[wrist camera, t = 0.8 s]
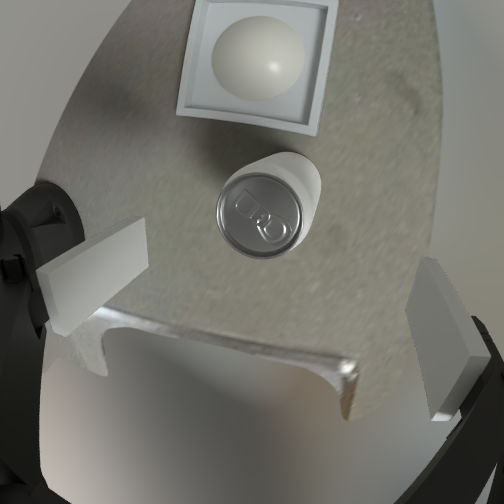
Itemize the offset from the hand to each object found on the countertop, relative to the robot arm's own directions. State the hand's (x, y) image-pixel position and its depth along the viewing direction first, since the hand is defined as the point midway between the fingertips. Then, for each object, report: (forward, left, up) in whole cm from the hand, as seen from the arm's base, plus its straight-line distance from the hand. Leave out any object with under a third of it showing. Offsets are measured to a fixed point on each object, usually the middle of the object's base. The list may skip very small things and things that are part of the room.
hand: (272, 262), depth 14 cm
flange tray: (-7, +12, -18) cm, 22 cm away
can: (-2, 0, -18) cm, 18 cm away
